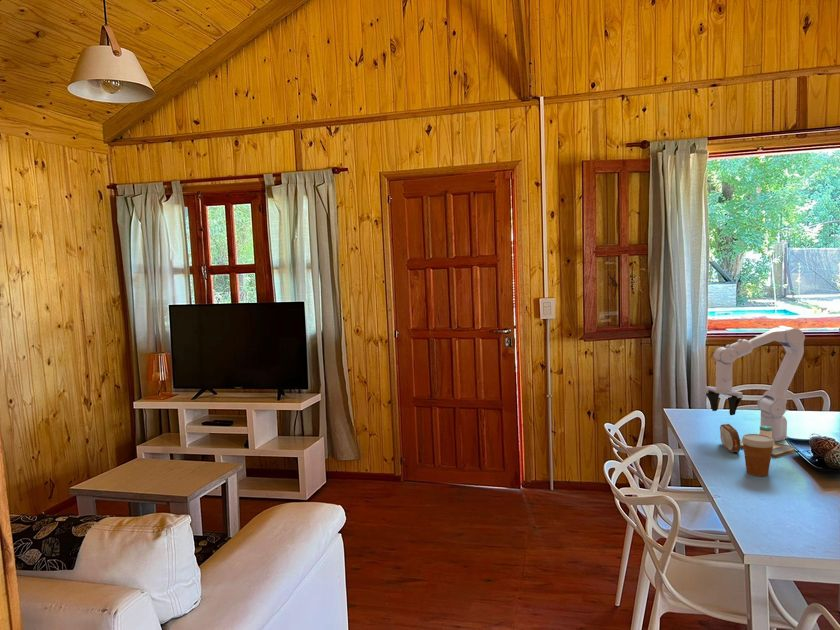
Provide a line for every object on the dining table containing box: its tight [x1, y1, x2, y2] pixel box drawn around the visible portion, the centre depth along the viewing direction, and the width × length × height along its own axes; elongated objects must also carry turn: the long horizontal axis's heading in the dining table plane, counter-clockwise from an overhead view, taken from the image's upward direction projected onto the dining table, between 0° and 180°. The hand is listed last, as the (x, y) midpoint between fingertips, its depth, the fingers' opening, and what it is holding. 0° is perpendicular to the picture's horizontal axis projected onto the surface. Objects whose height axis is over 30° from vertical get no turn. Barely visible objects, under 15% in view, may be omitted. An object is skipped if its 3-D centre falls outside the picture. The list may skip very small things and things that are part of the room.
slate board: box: [740, 440, 796, 459], centre depth 224 cm, size 14×16×1 cm
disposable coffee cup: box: [741, 433, 776, 477], centre depth 199 cm, size 10×10×12 cm
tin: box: [719, 423, 741, 453], centre depth 225 cm, size 15×3×8 cm, turn 170°
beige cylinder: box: [759, 425, 772, 437], centre depth 224 cm, size 4×4×7 cm
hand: (723, 412), depth 236 cm, fingers open, 7 cm apart
